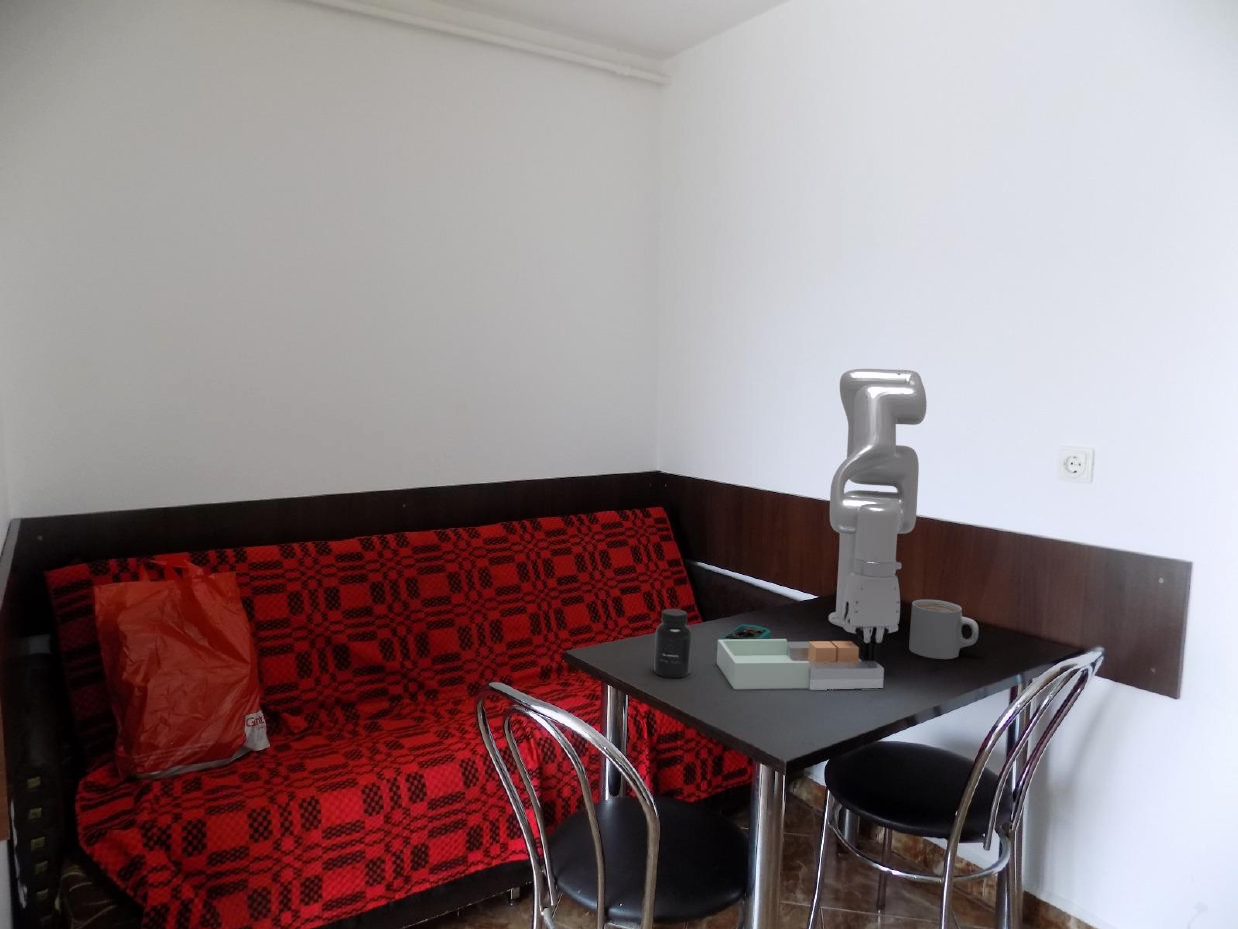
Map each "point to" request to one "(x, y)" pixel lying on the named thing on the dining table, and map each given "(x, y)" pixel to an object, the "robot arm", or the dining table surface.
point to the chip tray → (760, 664)
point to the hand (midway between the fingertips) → (868, 660)
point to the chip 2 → (846, 651)
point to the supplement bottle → (672, 645)
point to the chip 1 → (821, 651)
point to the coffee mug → (939, 629)
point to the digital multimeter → (748, 633)
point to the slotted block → (837, 671)
